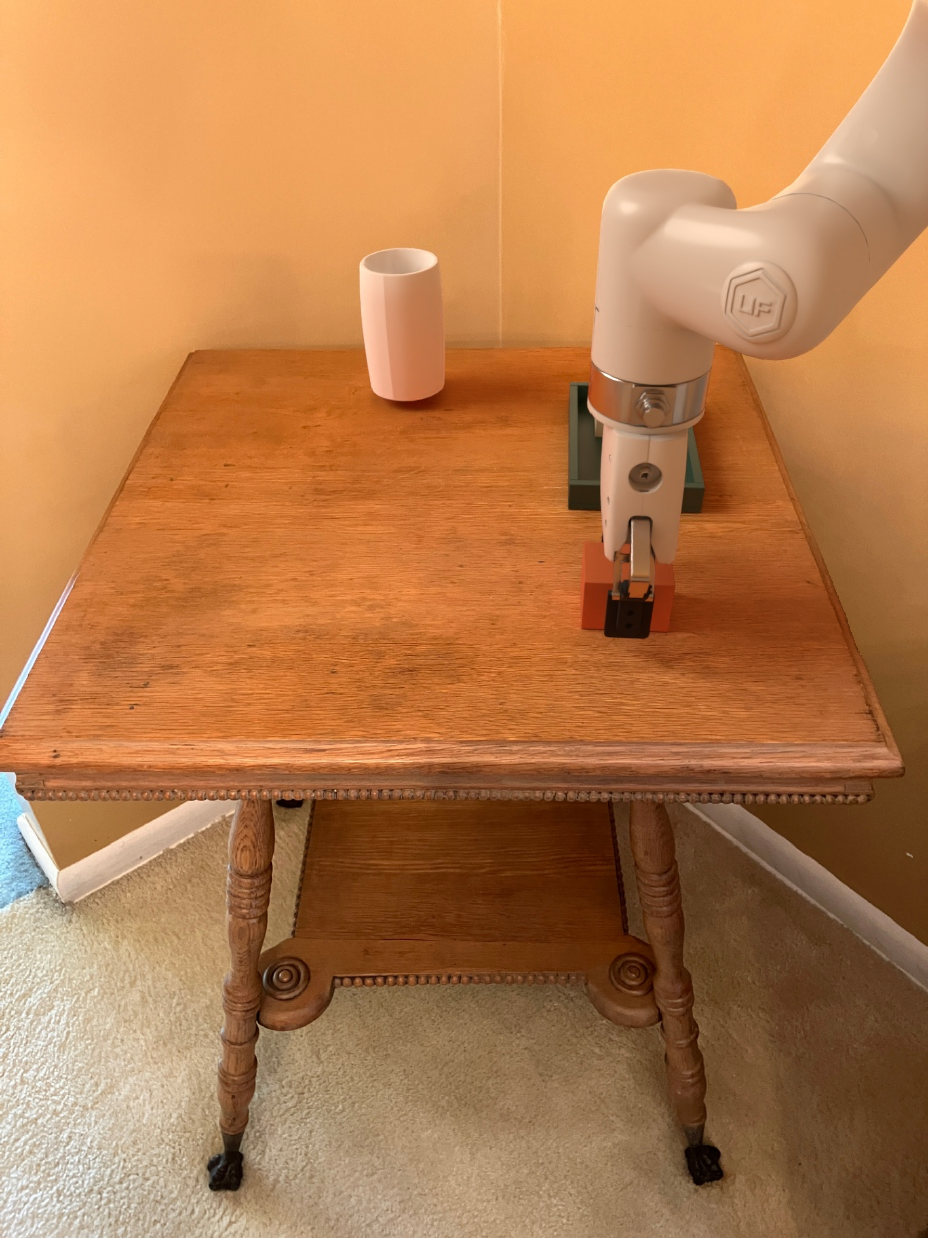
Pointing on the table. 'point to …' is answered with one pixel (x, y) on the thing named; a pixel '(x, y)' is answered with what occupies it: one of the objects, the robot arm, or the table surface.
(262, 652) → the table surface
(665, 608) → the orange-red block
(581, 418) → the tray
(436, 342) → the cup
